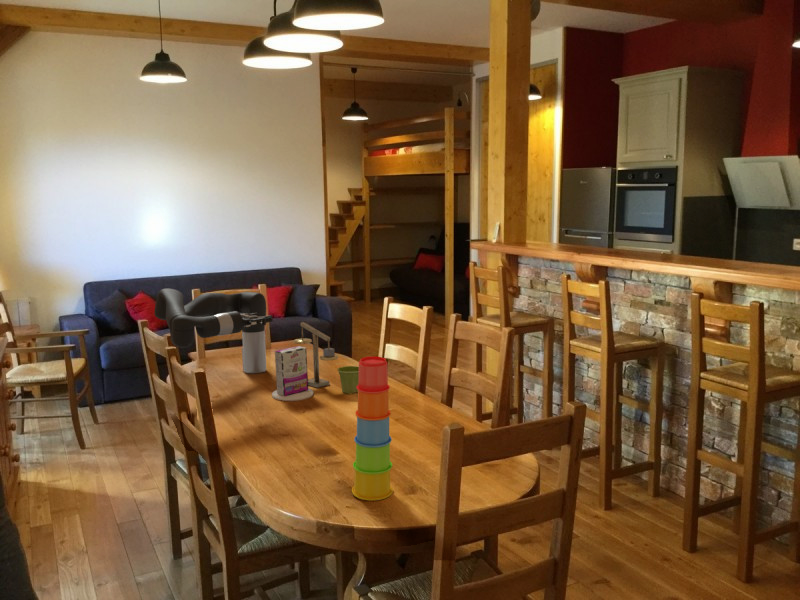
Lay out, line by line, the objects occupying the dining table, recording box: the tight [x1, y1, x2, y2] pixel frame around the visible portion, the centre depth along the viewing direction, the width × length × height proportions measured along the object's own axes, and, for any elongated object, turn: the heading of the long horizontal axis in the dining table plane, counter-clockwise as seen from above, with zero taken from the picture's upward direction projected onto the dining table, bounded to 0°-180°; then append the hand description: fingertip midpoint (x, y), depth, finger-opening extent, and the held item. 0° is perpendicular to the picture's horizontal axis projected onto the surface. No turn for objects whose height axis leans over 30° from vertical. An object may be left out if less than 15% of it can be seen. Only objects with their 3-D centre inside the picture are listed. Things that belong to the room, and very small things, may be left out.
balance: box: [293, 321, 339, 389], centre depth 278 cm, size 22×7×24 cm, turn 47°
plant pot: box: [337, 365, 359, 395], centre depth 269 cm, size 9×9×9 cm
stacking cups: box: [351, 355, 394, 502], centre depth 178 cm, size 10×10×35 cm
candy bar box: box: [274, 345, 309, 396], centre depth 265 cm, size 11×5×16 cm, turn 134°
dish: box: [271, 387, 314, 402], centre depth 266 cm, size 15×15×1 cm
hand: (264, 317), depth 258 cm, fingers open, 8 cm apart
